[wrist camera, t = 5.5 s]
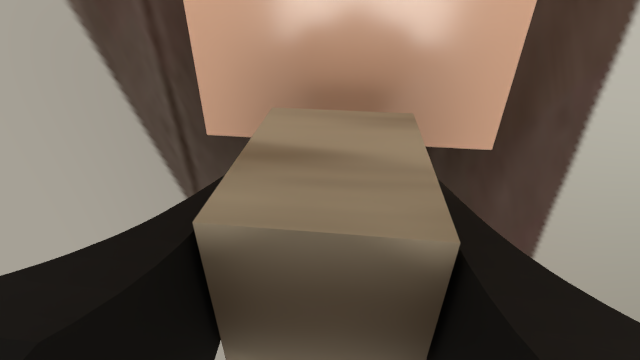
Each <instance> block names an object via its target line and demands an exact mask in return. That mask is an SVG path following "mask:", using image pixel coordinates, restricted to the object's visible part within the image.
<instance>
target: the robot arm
mask: <svg viewBox="0 0 640 360" xmlns="http://www.w3.org/2000/svg"><path fill="white" fill-rule="evenodd" d="M224 176H225V175H224ZM224 176H223V177H221V178H220V179H218V180H216V181H215V182H213V183H212V184H210V185H209V186H207V187H205V188H204V189H202V190H201V191H199V192H197V193H196V194H194V195H193V196H191V197H189V198H188V199H186V200H184V201H182V202H181V203H179V204H177V205H175V206H174V207H172V208H170V209H168V210H167V211H165V212H163V213H161V214H159V215H158V216H156V217H154V218H152V219H150V220H148V221H146V222H144V223H142V224H140V225H138V226H135V227H133V228H131V229H129V230H127V231H125V232H122V233H120V234H118V235H116V236H113V237H111V238H108V239H106V240H103V241H101V242H98V243H96V244H93V245H90V246H88V247H86V248H83V249H80V250H78V251H75V252H73V253H70V254H67V255H64V256H61V257H59V258H56V259H53V260H50V261H47V262H44V263H41V264H38V265H35V266H31V267H28V268H25V269H22V270H19V271H15V272H12V273H9V274H5V275H2V276H0V360H214V359H215V356H216V353H217V350H218V347H219V344H220V340H221V337H220V333H219V329H218V325H217V321H216V317H215V313H214V309H213V305H212V301H211V297H210V293H209V289H208V284H207V280H206V276H205V272H204V268H203V264H202V260H201V256H200V252H199V248H198V244H197V240H196V235H195V231H194V227H193V223H192V222H193V221H194V219H195V218H196V216H197V215H198V214H199V212H200V211H201V209H202V208H203V206H204V205H205V204H206V202H207V201H208V199H209V198H210V196H211V195H212V193H213V192H214V191H215V189H216V188H217V186H218V185H219V183H220V182H221V180H222V179H223V178H224ZM437 180H438V179H437ZM438 183H439V185H440V188H441V191H442V194H443V196H444V199H445V202H446V205H447V207H448V210H449V213H450V216H451V218H452V221H453V224H454V227H455V229H456V232H457V235H458V238H459V240H460V246H459V250H458V253H457V256H456V260H455V263H454V267H453V270H452V273H451V277H450V280H449V283H448V287H447V290H446V294H445V297H444V300H443V304H442V307H441V311H440V314H439V317H438V321H437V324H436V328H435V331H434V334H433V338H432V341H431V345H430V348H429V351H428V355H427V360H640V323H639V322H638V321H635V320H634V319H632V318H630V317H628V316H626V315H624V314H622V313H621V312H619V311H617V310H615V309H613V308H611V307H609V306H607V305H606V304H604V303H602V302H600V301H599V300H597V299H595V298H594V297H592V296H590V295H588V294H587V293H585V292H583V291H582V290H580V289H578V288H577V287H575V286H573V285H571V284H570V283H568V282H567V281H565V280H563V279H562V278H560V277H559V276H557V275H555V274H554V273H552V272H551V271H549V270H548V269H546V268H545V267H543V266H542V265H540V264H539V263H538V262H536V261H535V260H533V259H532V258H530V257H529V256H527V255H526V254H524V253H523V252H522V251H520V250H519V249H518V248H516V247H515V246H514V245H512V244H511V243H510V242H508V241H507V240H506V239H505V238H503V237H502V236H501V235H500V234H498V233H497V232H496V231H495V230H493V229H492V228H491V227H490V226H489V225H487V224H486V223H485V222H484V221H483V220H482V219H480V218H479V217H478V216H477V215H476V214H475V213H474V212H473V211H471V210H470V209H469V208H468V207H467V206H466V205H465V204H464V203H463V202H462V201H461V200H460V199H459V198H457V197H456V196H455V195H454V194H453V193H452V192H451V191H450V190H449V189H448V188H447V187H446V186H445V185H444V184H443V183H442V182H440V181H439V180H438Z"/></svg>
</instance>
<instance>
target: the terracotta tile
mask: <svg viewBox="0 0 640 360" xmlns="http://www.w3.org/2000/svg"><path fill="white" fill-rule="evenodd" d="M183 1H184V7H185V12H186V18H187V24H188V29H189V35H190V41H191V46H192V52H193V58H194V63H195V69H196V75H197V80H198V86H199V92H200V97H201V103H202V109H203V114H204V120H205V126H206V131H207V135H219V136H238V137H252V136H253V134H254V133H255V132H256V130H257V129H258V127H259V126H260V124H261V123H262V122H263V120H264V119H265V117H266V116H267V114H268V113H269V111H270V110H271V109H272V107H274V108H298V109H321V110H345V111H368V112H392V113H413V114H414V117H415V119H416V122H417V125H418V128H419V130H420V133H421V136H422V139H423V141H424V144H425V146H426V147H445V148H464V149H483V150H492V148H493V144H494V141H495V138H496V134H497V131H498V128H499V124H500V121H501V118H502V114H503V111H504V108H505V104H506V101H507V98H508V94H509V91H510V88H511V84H512V81H513V78H514V75H515V71H516V68H517V65H518V61H519V58H520V55H521V51H522V48H523V45H524V41H525V38H526V35H527V31H528V28H529V25H530V21H531V18H532V15H533V11H534V8H535V5H536V1H537V0H183Z"/></svg>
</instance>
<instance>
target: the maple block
mask: <svg viewBox="0 0 640 360" xmlns="http://www.w3.org/2000/svg"><path fill="white" fill-rule="evenodd" d="M192 223H193V227H194V231H195V235H196V240H197V244H198V248H199V252H200V256H201V260H202V264H203V268H204V272H205V276H206V280H207V284H208V289H209V293H210V297H211V301H212V305H213V309H214V313H215V317H216V321H217V325H218V329H219V333H220V337H221V342H222V346H223V349H224V354H225V358H226V360H426V358H427V355H428V351H429V348H430V345H431V341H432V338H433V334H434V331H435V328H436V324H437V321H438V317H439V314H440V311H441V307H442V304H443V300H444V297H445V294H446V290H447V287H448V283H449V280H450V277H451V273H452V270H453V267H454V263H455V260H456V256H457V253H458V250H459V246H460V240H459V238H458V235H457V232H456V229H455V227H454V224H453V221H452V218H451V216H450V213H449V210H448V207H447V205H446V202H445V199H444V196H443V194H442V191H441V188H440V185H439V183H438V180H437V177H436V174H435V172H434V169H433V166H432V163H431V161H430V158H429V155H428V152H427V150H426V147H425V144H424V141H423V139H422V136H421V133H420V130H419V128H418V125H417V122H416V119H415V117H414V114H413V113H392V112H368V111H345V110H321V109H298V108H274V107H272V109H271V110H270V111H269V113H268V114H267V116H266V117H265V119H264V120H263V122H262V123H261V124H260V126H259V127H258V129H257V130H256V132H255V133H254V134H253V136H252V137H251V139H250V140H249V142H248V143H247V145H246V146H245V147H244V149H243V150H242V152H241V153H240V155H239V156H238V157H237V159H236V160H235V162H234V163H233V165H232V166H231V168H230V169H229V170H228V172H227V173H226V175H225V176H224V178H223V179H222V180H221V182H220V183H219V185H218V186H217V188H216V189H215V191H214V192H213V193H212V195H211V196H210V198H209V199H208V201H207V202H206V204H205V205H204V206H203V208H202V209H201V211H200V212H199V214H198V215H197V216H196V218H195V219H194V221H193V222H192Z"/></svg>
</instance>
